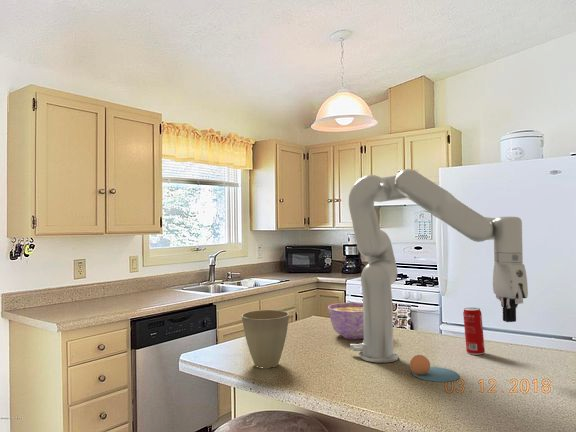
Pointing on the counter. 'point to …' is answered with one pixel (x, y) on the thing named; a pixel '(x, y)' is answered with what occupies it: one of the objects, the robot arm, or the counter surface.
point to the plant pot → (265, 335)
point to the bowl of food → (347, 319)
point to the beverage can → (473, 331)
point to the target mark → (439, 375)
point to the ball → (420, 365)
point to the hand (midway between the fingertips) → (509, 321)
